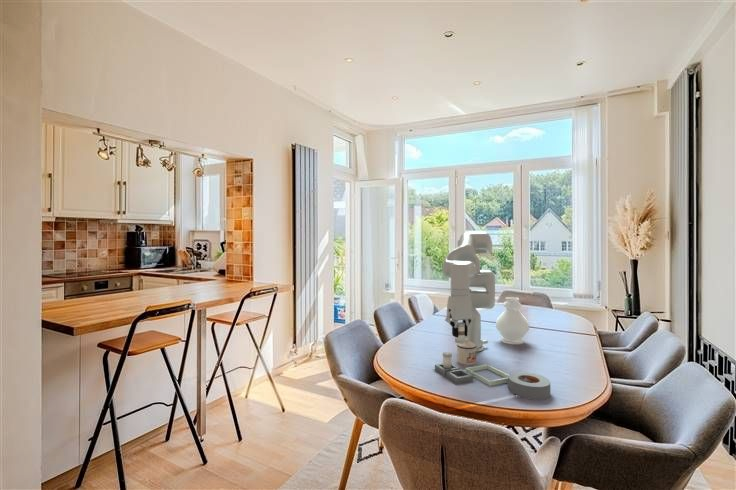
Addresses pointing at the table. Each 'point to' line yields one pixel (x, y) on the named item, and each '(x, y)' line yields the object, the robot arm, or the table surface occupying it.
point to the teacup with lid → (466, 352)
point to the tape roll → (529, 385)
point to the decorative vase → (512, 322)
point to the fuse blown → (460, 333)
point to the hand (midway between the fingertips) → (459, 335)
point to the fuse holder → (454, 374)
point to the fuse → (447, 360)
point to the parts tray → (490, 383)
